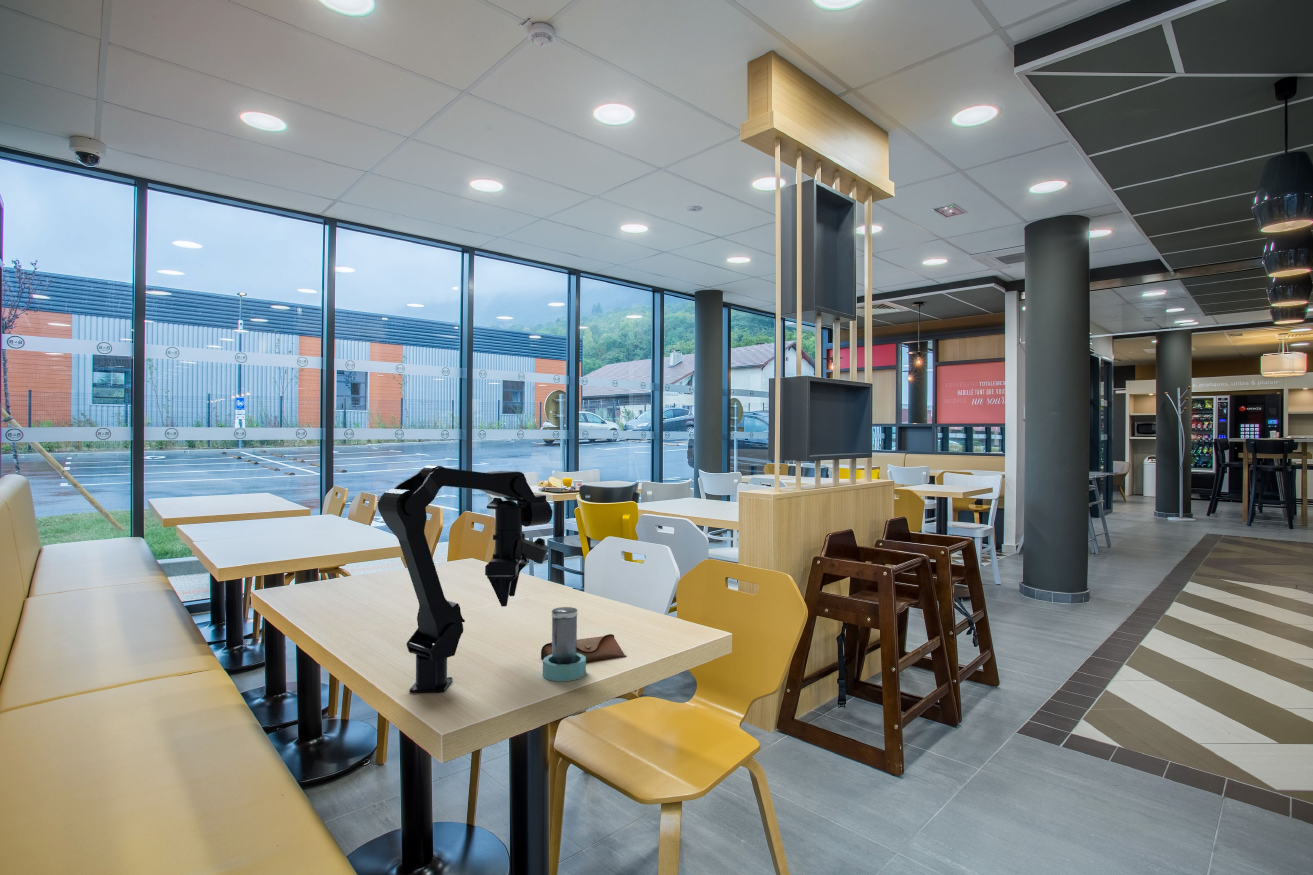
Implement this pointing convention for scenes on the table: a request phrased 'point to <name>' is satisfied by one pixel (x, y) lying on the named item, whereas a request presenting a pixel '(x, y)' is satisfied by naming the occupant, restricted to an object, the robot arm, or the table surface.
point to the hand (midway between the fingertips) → (508, 600)
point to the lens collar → (564, 669)
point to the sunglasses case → (593, 648)
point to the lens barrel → (564, 635)
